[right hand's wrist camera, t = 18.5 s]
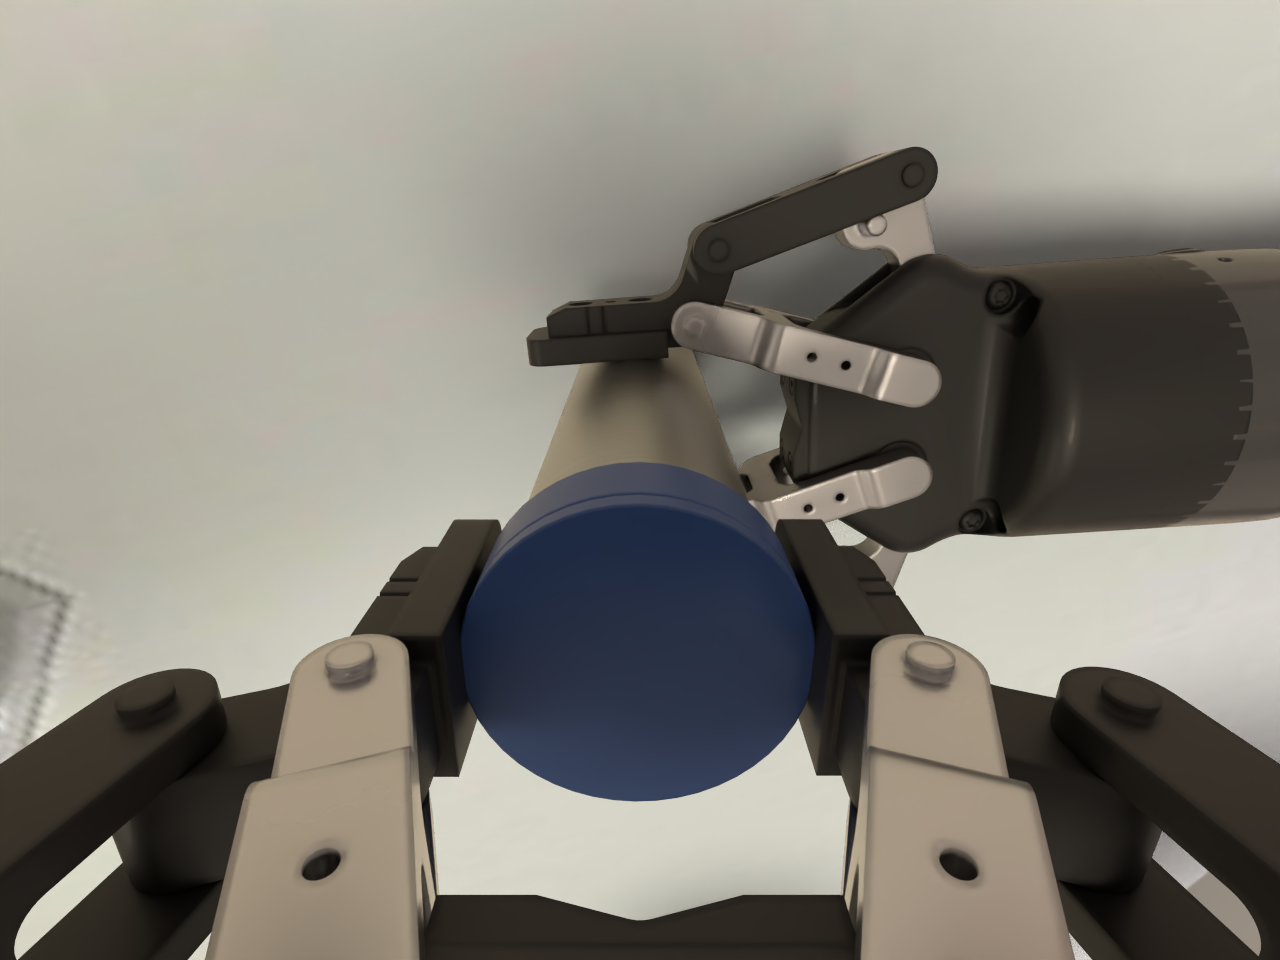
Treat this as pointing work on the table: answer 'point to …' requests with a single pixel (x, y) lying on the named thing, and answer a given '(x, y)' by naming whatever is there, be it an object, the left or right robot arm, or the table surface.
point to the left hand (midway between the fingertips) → (545, 434)
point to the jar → (640, 421)
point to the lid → (637, 635)
